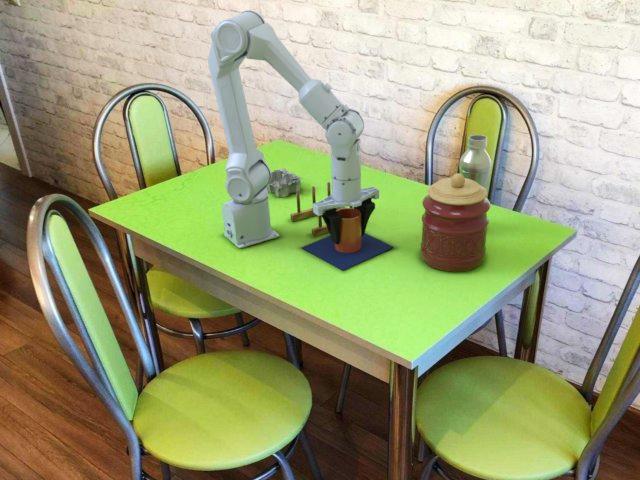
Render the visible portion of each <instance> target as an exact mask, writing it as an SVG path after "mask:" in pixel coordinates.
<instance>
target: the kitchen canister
mask: <svg viewBox="0 0 640 480" xmlns="http://www.w3.org/2000/svg"><path fill="white" fill-rule="evenodd" d="M426 192H427V195H425V197H424V198H422V207H423V209H424V212H423V213H422V215H421V222H422V224H421V225H422V226H421V243H420V254H421V255H420V256H421V258H422V261H423V262H424V263H426V264H427V265H428V266H430V267H431V268H434V269H436V270H440V271H445V272H466V271H470V270H473V269H476V268H477V267H479V266H481V264H483V262H484V259H485V257H486V253H487V252H486V251H487V246H486V245H487V244H486V243H487V234H488V226H489V223H490V219H489V217H488V212H489V211H490V209H491V201H490V200H489V199H488V198H487V197H488V191H487V188H486V189H485V188H484V187H482V186H481V185H479V184H478V183H477V182H475V181H473V180H470V179H466V178H464V176H463V175H462V174H460V173H454V174H453V175H452V176H451V177H446V178H442V179H439V180H437V181H436V182H433V184H431V185H429V187H428V188H427V191H426Z"/></svg>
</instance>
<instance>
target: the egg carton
mask: <svg viewBox="0 0 640 480" xmlns="http://www.w3.org/2000/svg"><path fill="white" fill-rule="evenodd" d="M271 174H272V177H271V181H270V183H269V184H268V185H267V192H268V193H271V194H273V193H275V196H276V197H277V198H287V197H289V194H296V191H297V190H298V191H299V193H300V192H301V188H302V187H301V186H302V185H301V180H302V179H303V176H301V177H300V176H298V175H296V174H295V173H293V172H291V171H289V170H288V169H287V168H279V169H274V171H271Z"/></svg>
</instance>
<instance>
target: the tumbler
mask: <svg viewBox="0 0 640 480" xmlns="http://www.w3.org/2000/svg"><path fill="white" fill-rule="evenodd" d="M336 211H338V214H339V215H341V216H342V220H341V224H340V243H339V244H335V243H334V245H335V249H336V250H337V251H339V252H342V253H353V252H356V251H358V250H360V249H361V244H362V241H361V212H360V211H359V210H357V209H354V208H350V207H345V208H342V209H338V210H336Z"/></svg>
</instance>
